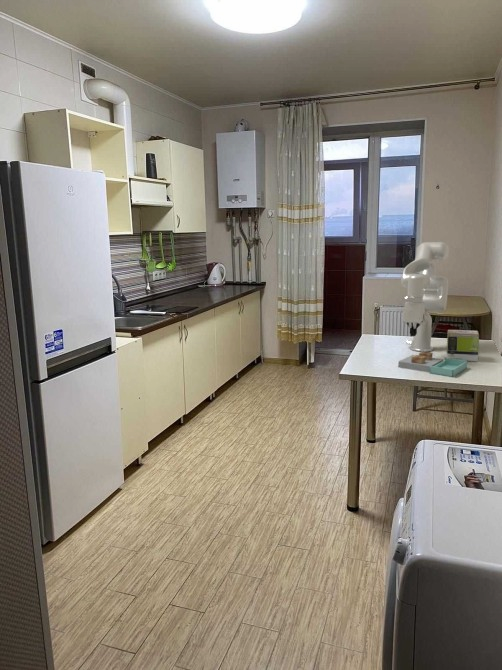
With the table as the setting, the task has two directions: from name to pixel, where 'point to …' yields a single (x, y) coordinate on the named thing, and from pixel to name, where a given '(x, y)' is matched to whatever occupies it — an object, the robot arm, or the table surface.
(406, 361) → the board
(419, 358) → the wooden block
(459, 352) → the tea box
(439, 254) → the robot arm
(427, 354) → the brown angular block
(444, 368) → the tray
